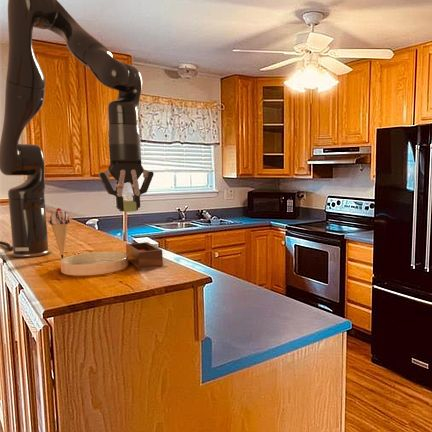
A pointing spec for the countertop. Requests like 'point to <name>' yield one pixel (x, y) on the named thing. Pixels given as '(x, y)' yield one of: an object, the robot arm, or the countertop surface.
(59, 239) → the ice cream cone
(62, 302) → the countertop surface
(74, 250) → the countertop surface
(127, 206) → the green block
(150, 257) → the holder
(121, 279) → the countertop surface
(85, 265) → the bowl
